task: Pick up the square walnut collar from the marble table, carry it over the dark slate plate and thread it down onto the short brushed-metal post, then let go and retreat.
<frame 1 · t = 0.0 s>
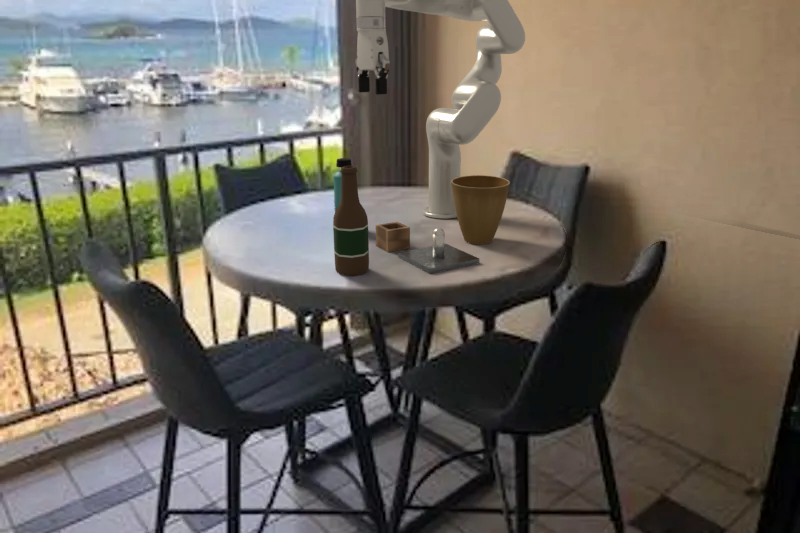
hand: (372, 93, 169), 37 cm above the table, tool pointing down, fingers open, 9 cm apart
beer bottle: (352, 271, 144), on the table
beverage bottle: (346, 230, 177), on the table
post block: (438, 260, 151), on the table
plant pot: (478, 241, 166), on the table
walnut collar: (392, 246, 161), on the table
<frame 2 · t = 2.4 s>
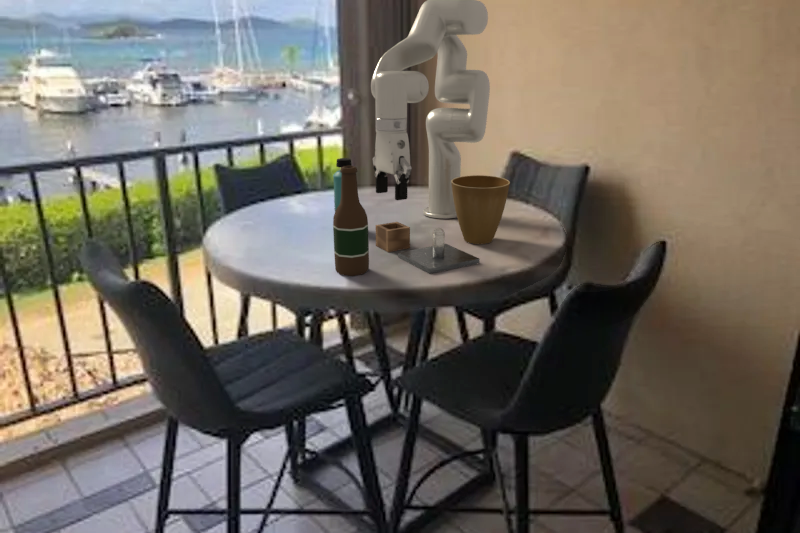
hand: (391, 196, 156), 13 cm above the table, tool pointing down, fingers open, 9 cm apart
nothing on the table moved.
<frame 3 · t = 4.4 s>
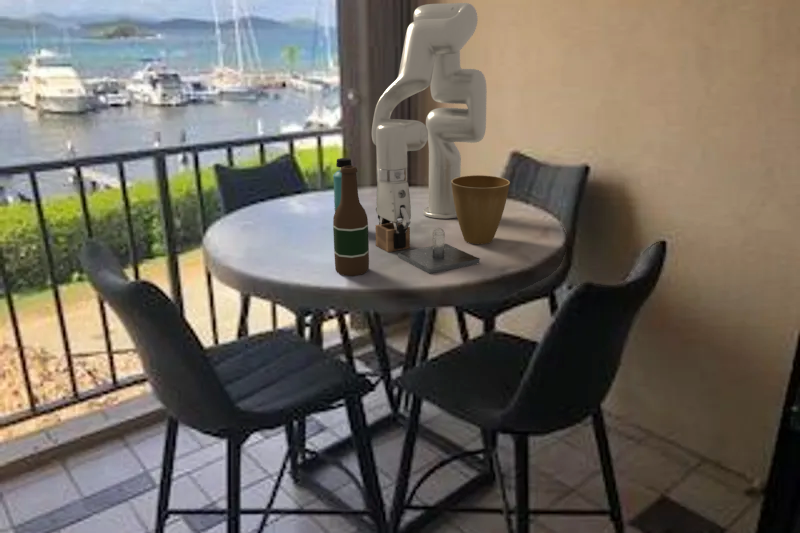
hand: (392, 243, 161), 1 cm above the table, tool pointing down, fingers closed on walnut collar, 6 cm apart
walnut collar: (392, 246, 161), on the table, touching gripper
everything else where it was.
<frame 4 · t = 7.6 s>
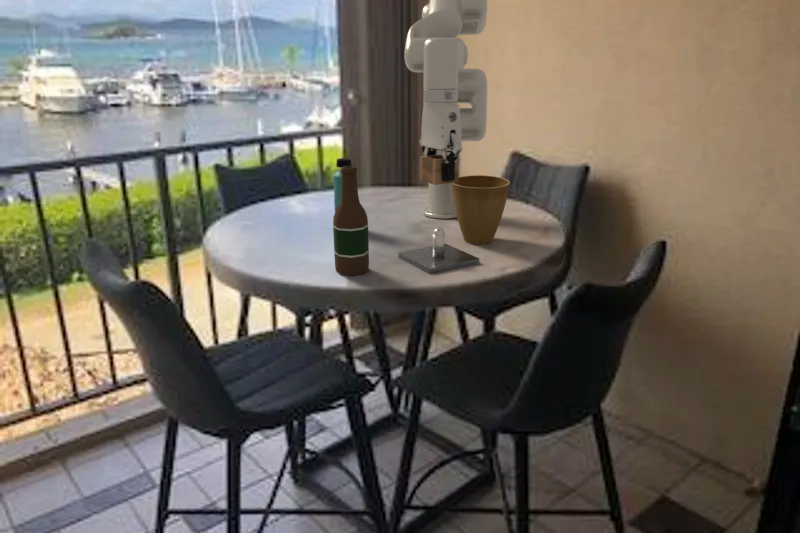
hand: (439, 177, 144), 20 cm above the table, tool pointing down, fingers closed on walnut collar, 6 cm apart
walnut collar: (438, 181, 144), point 19 cm above the table, touching gripper
everything else where it was.
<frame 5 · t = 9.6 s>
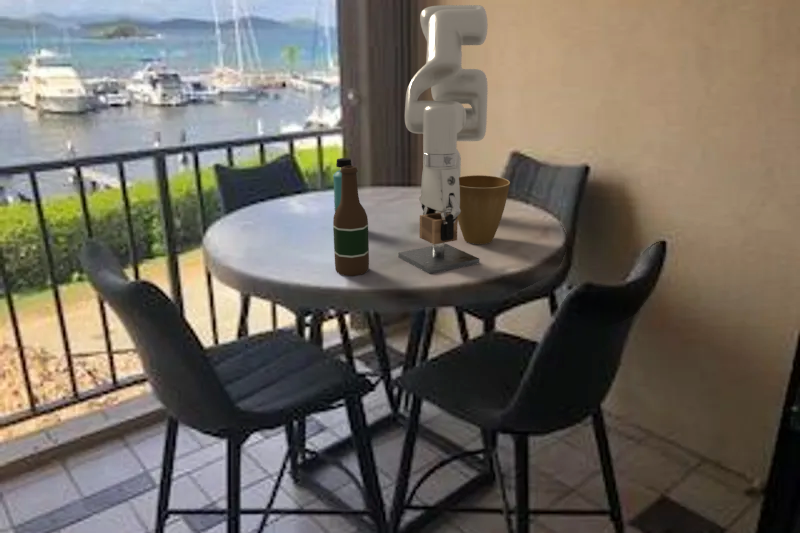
hand: (438, 235, 148), 6 cm above the table, tool pointing down, fingers closed on walnut collar, 6 cm apart
walnut collar: (438, 239, 149), point 5 cm above the table, touching gripper
everything else where it was.
when the fingers open (4 cm above the table, at t = 11.0 s): walnut collar drops 2 cm, resting on post block.
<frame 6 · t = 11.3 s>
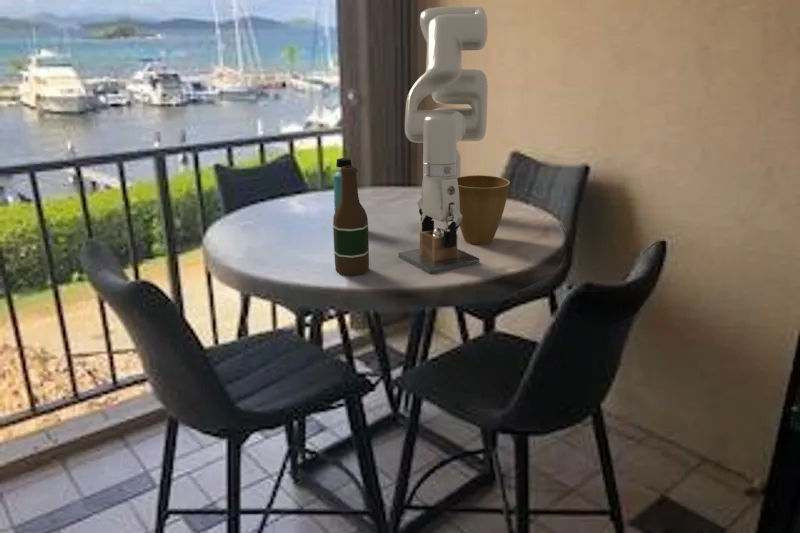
hand: (438, 241, 149), 5 cm above the table, tool pointing down, fingers open, 9 cm apart
walnut collar: (438, 255, 150), point 1 cm above the table, touching post block
everything else where it was.
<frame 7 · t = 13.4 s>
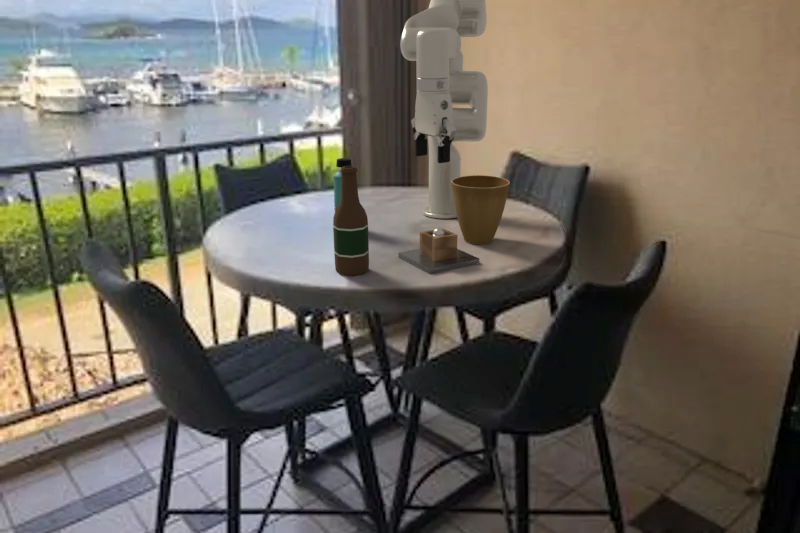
hand: (432, 158, 152), 23 cm above the table, tool pointing down, fingers open, 9 cm apart
nothing on the table moved.
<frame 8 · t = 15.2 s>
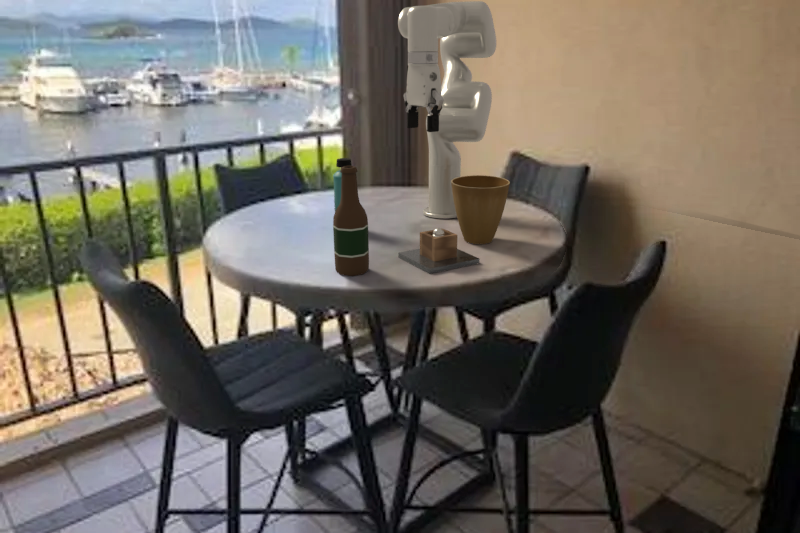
hand: (422, 129, 161), 28 cm above the table, tool pointing down, fingers open, 9 cm apart
nothing on the table moved.
at the end: walnut collar 0.0 cm off-centre on the post block, point 1.2 cm above the post block's base; the gripper is holding nothing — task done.
